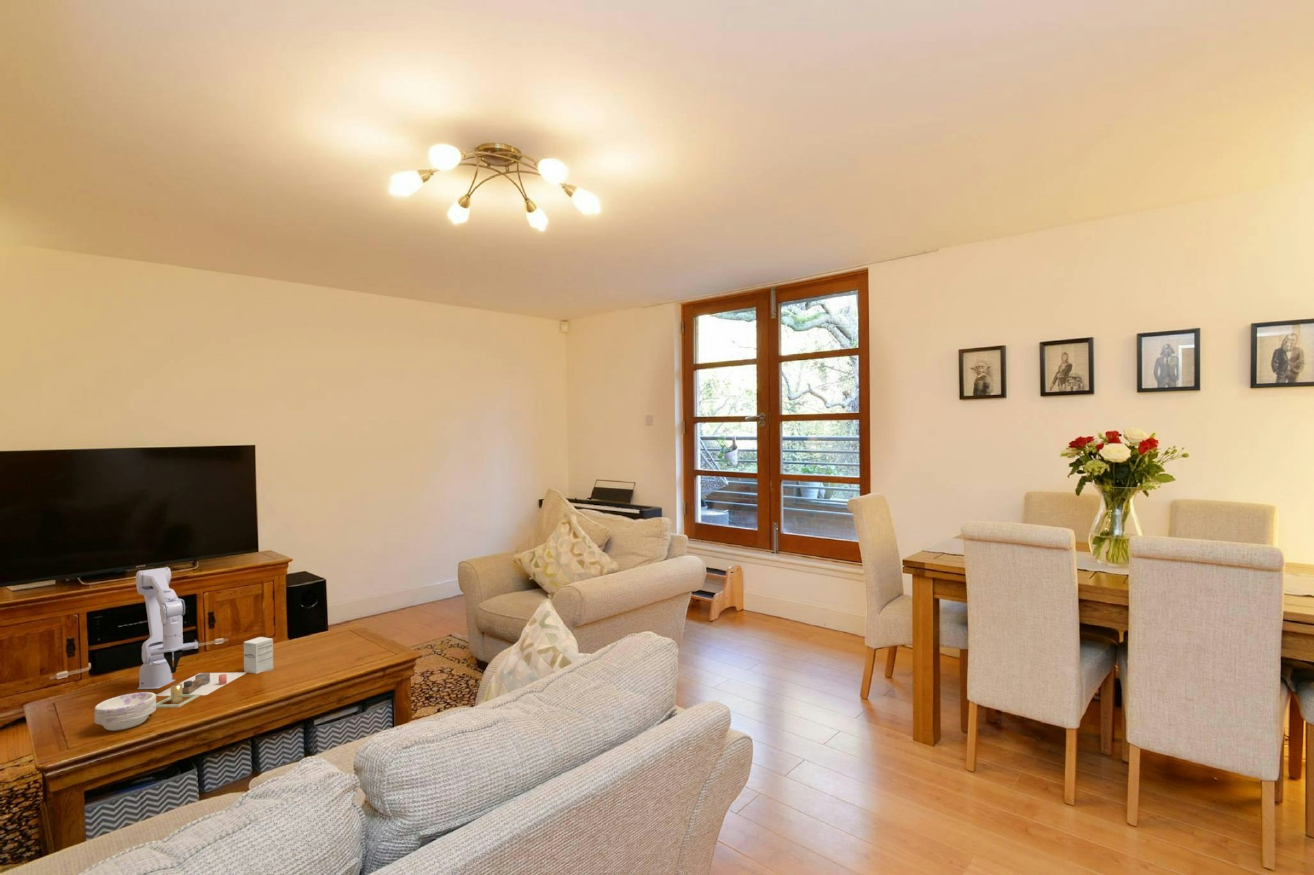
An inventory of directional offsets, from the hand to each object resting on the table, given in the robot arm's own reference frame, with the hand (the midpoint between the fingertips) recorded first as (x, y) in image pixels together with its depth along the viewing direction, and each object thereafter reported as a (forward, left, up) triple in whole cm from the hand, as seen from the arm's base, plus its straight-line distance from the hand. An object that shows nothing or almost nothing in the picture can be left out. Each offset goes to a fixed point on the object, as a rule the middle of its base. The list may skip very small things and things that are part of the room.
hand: (173, 672), depth 224 cm
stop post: (+12, +9, -8) cm, 17 cm away
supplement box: (+16, +23, -9) cm, 29 cm away
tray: (+7, -7, -8) cm, 13 cm away
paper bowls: (+3, -23, -9) cm, 25 cm away
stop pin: (+7, -7, -8) cm, 13 cm away
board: (+4, +9, -8) cm, 13 cm away
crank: (+5, +5, -7) cm, 10 cm away
